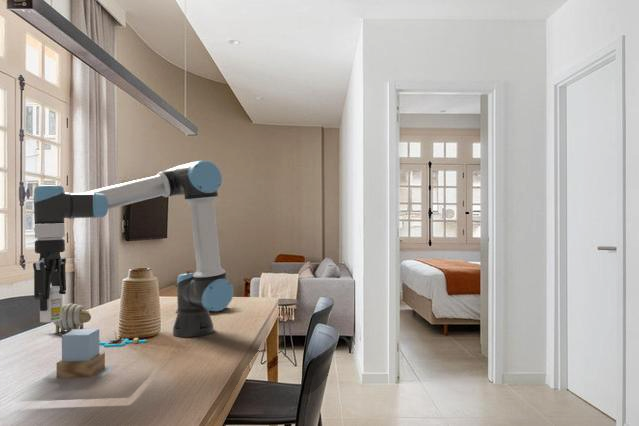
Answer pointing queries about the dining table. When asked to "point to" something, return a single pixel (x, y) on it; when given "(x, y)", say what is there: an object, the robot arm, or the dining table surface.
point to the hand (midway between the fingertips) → (51, 319)
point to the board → (100, 373)
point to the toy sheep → (72, 317)
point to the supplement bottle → (55, 303)
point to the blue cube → (80, 345)
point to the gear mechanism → (120, 341)
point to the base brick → (81, 367)
